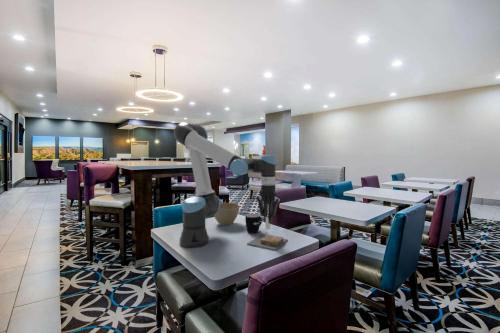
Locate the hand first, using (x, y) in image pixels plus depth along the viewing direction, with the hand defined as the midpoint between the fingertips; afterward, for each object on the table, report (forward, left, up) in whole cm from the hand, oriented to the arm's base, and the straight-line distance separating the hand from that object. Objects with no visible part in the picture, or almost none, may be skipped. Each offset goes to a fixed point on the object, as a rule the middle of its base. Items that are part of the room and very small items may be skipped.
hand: (267, 228), depth 130 cm
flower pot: (-39, +17, -8) cm, 43 cm away
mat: (0, 0, -7) cm, 7 cm away
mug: (-15, +13, -8) cm, 21 cm away
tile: (-2, 0, -6) cm, 6 cm away
